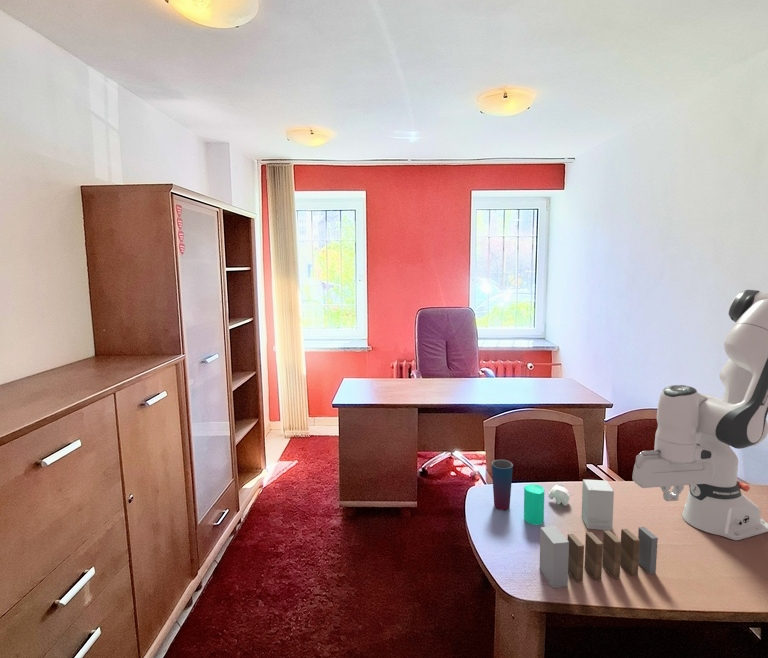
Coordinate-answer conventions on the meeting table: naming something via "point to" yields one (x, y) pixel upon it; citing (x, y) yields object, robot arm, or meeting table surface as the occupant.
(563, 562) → the end block
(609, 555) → the domino
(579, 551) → the domino
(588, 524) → the supplement box
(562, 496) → the elephant figurine
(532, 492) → the candle
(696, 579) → the meeting table surface
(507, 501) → the cup
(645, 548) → the gray domino
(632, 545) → the domino
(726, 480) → the robot arm
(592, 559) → the domino
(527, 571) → the meeting table surface
